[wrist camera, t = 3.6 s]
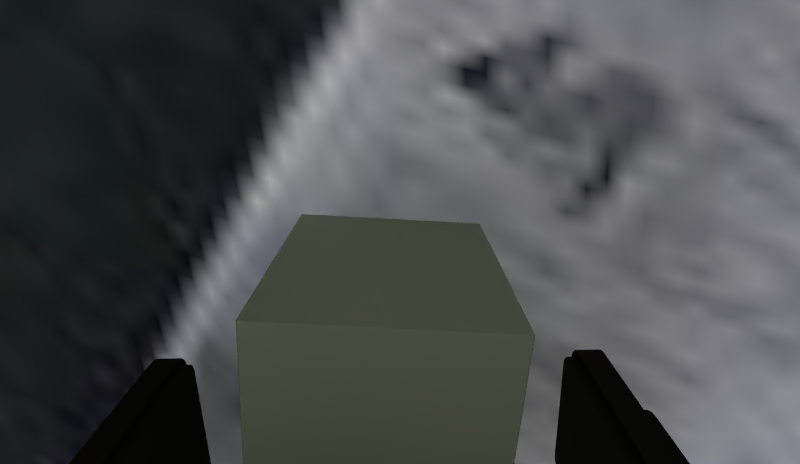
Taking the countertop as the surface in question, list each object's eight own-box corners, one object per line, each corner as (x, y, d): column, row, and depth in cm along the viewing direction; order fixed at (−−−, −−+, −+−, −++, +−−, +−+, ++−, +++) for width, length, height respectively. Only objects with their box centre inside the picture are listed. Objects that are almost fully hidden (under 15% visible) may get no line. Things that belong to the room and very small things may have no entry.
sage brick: (302, 212, 11) (235, 321, 7) (478, 222, 12) (535, 335, 7) (304, 488, 14) (256, 707, 9) (447, 494, 14) (472, 715, 9)
